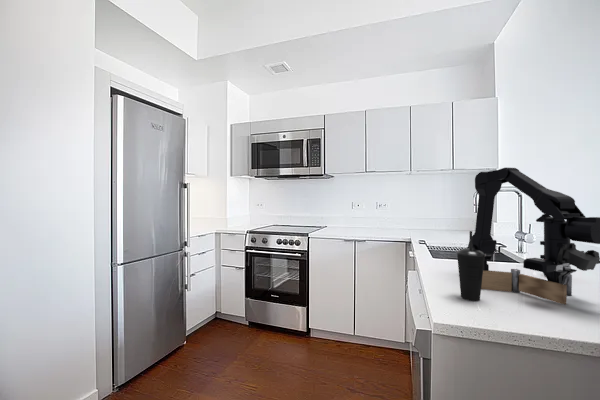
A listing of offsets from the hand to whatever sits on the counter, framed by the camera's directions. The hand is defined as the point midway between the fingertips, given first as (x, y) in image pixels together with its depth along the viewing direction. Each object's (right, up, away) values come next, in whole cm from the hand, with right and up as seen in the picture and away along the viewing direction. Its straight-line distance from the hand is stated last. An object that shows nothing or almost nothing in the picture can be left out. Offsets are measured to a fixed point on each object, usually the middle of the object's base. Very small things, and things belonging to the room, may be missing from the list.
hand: (557, 292), depth 83 cm
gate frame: (-3, -3, +9) cm, 10 cm away
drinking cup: (-24, -3, +3) cm, 24 cm away
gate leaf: (-3, -2, +2) cm, 4 cm away
